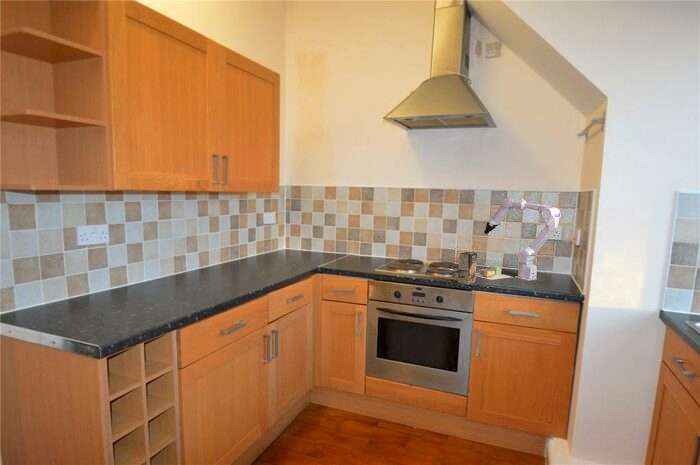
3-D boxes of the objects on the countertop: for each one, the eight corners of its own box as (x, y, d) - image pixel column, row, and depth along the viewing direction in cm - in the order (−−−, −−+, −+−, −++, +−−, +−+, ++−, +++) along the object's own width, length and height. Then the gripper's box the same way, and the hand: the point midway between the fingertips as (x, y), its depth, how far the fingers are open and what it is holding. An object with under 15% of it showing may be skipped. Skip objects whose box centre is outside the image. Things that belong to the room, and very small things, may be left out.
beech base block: (494, 277, 233) (494, 271, 232) (486, 277, 230) (487, 271, 229) (486, 274, 238) (486, 269, 237) (478, 275, 235) (479, 269, 234)
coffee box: (468, 284, 214) (470, 254, 212) (457, 282, 218) (459, 253, 216) (475, 282, 221) (477, 252, 219) (464, 280, 225) (466, 251, 223)
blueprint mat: (512, 277, 235) (512, 276, 235) (490, 280, 226) (490, 279, 225) (490, 272, 248) (490, 271, 248) (469, 274, 239) (469, 273, 239)
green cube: (501, 274, 241) (501, 266, 240) (495, 274, 239) (496, 267, 238) (495, 272, 245) (495, 265, 244) (489, 273, 243) (490, 265, 242)
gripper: (498, 208, 251) (485, 225, 258) (490, 213, 240) (478, 230, 247) (507, 215, 248) (495, 231, 256) (500, 220, 237) (487, 237, 245)
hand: (487, 231), depth 251 cm, fingers open, 7 cm apart
